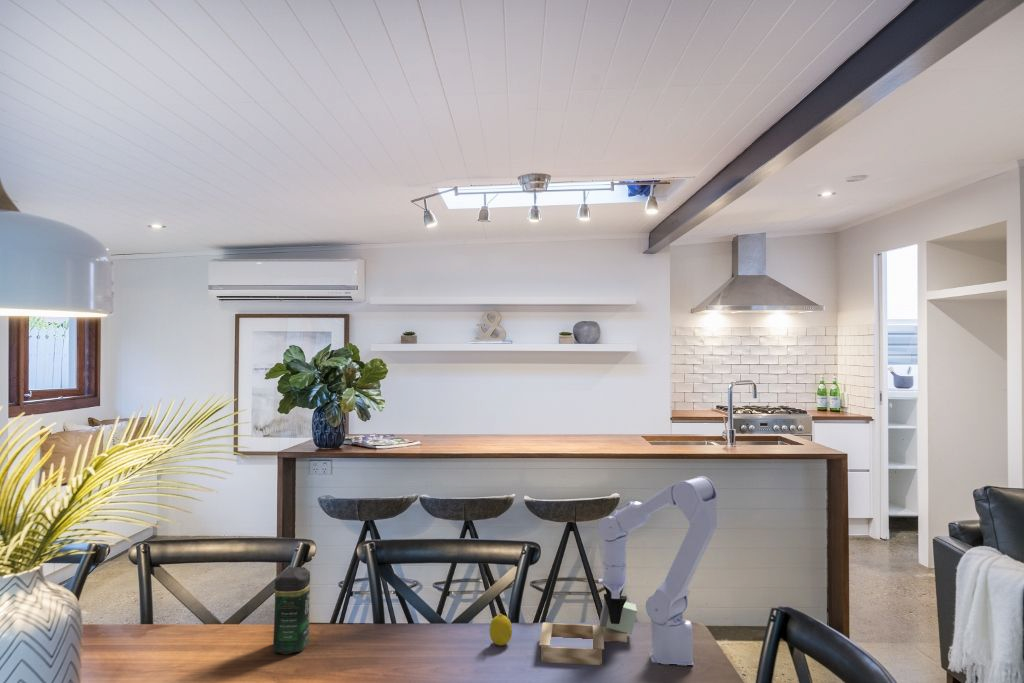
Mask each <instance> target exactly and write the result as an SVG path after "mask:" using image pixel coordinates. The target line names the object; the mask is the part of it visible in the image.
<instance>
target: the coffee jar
mask: <svg viewBox="0 0 1024 683" xmlns="http://www.w3.org/2000/svg"><path fill="white" fill-rule="evenodd" d="M310 589H311V572H310V571H309V570H308V569H307V568H306V567H304V566H303V567H302V566H301V567H300V566H299V567H296V566H291V567H290V566H289V567H288V568H287V569H285V570H283V571H281V573H280V574H278V575H277V577H276V578H275V580H274V589H273V590H274V616H273V621H274V622H273V642H272V643H273V644H272V650H273V652H275V653H279V654H282V655H288V654H289V655H290V654H293V653H298V652H301V651H303V650H304V649H305V648H306V646H307V645H308V644H309V641H310V592H311V591H310Z"/></svg>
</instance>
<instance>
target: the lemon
mask: <svg viewBox="0 0 1024 683" xmlns="http://www.w3.org/2000/svg"><path fill="white" fill-rule="evenodd" d="M512 634H513V628H512V623H511V620H510V619H509V617H508V616H506V615H504V614H502V613H500V614H498V615H496V616H494V617H493V618H492V620H491V621H490V625H489V637H490V640H491V641H492V642H493V643H494V644H495V645H497V646H498V647H499V646H500V647H501V646H502V647H503V646H504V645H507V644H508V643H509V642H510V641H511V639H512V636H513V635H512Z"/></svg>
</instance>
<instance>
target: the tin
mask: <svg viewBox="0 0 1024 683" xmlns="http://www.w3.org/2000/svg"><path fill="white" fill-rule="evenodd" d="M637 613H638V609H637V604H636V603H632V602H628V601H626V602H625V604H624V606H623V609H622V614H621V620H620V623H619V624H611V622H610V617H609V610H608V606H607V604H606V601H605V599H604V598H603V603H602V607H601V612H600V616H599V625H603V627H607V628H610V629H614V630H617V631H621V632H624V633H627V635H628V634H629V635H632V634H633V630H634V626H635V621H636V617H637Z"/></svg>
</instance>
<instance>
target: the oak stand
mask: <svg viewBox="0 0 1024 683" xmlns="http://www.w3.org/2000/svg"><path fill="white" fill-rule="evenodd" d="M603 638H604V642H610V641H619V642H618V643H628V633H624V632H621V631H617V630H614V629H610V628H607V627H603Z"/></svg>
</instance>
